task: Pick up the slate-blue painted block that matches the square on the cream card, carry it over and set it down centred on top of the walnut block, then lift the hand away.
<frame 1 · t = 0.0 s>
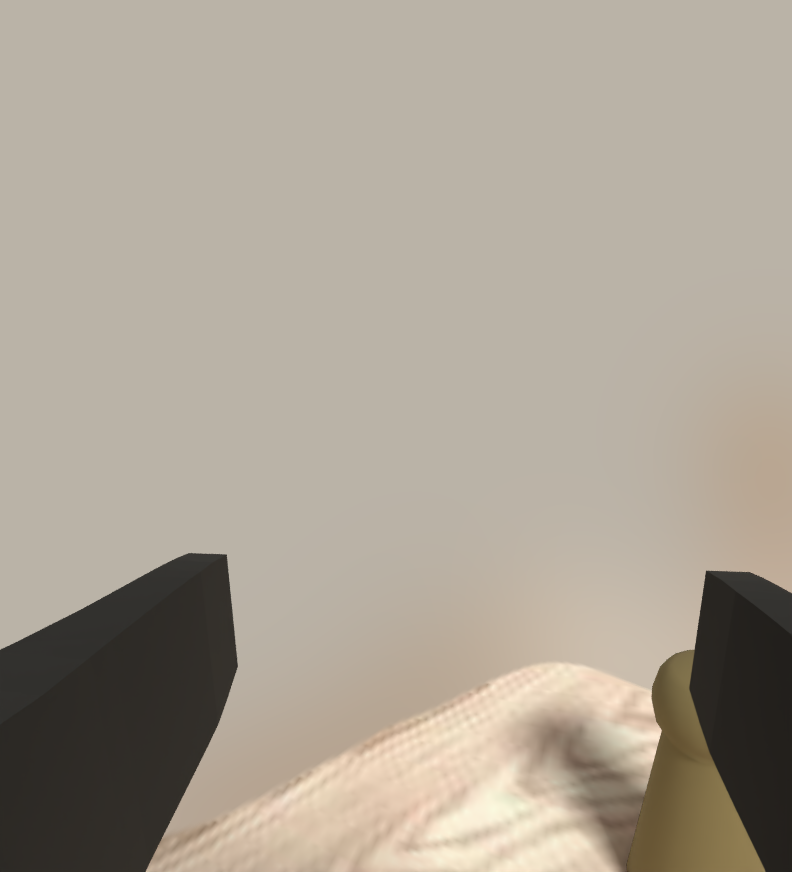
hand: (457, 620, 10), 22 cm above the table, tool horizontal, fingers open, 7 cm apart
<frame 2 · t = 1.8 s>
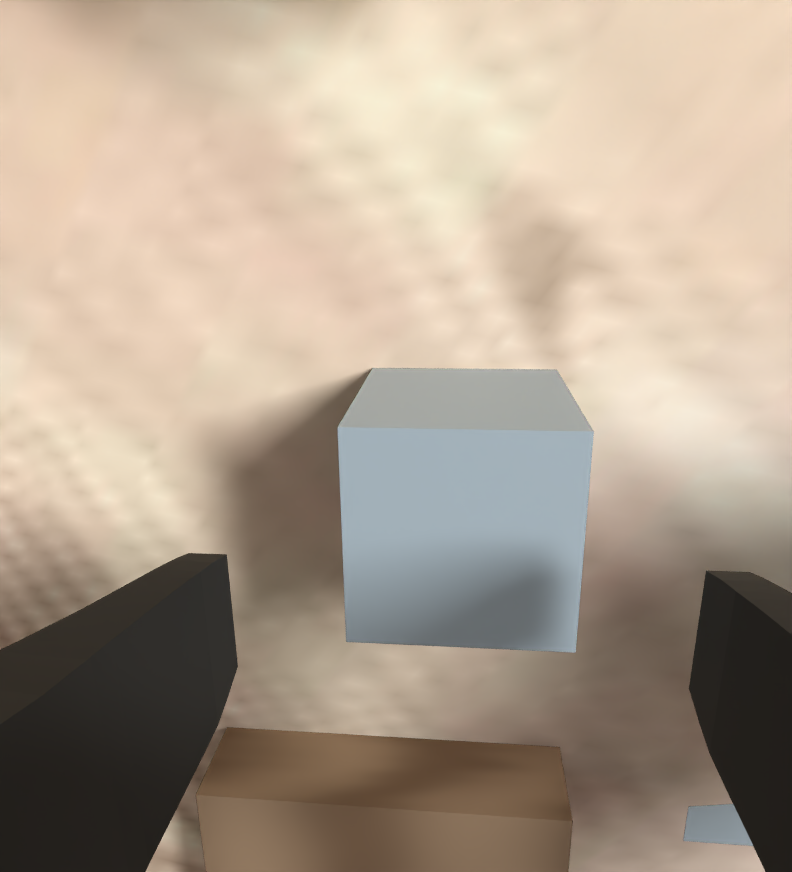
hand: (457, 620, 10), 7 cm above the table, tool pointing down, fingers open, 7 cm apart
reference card: (725, 801, 20), on the table
walnut block: (393, 851, 22), on the table
slate block: (461, 454, 17), on the table
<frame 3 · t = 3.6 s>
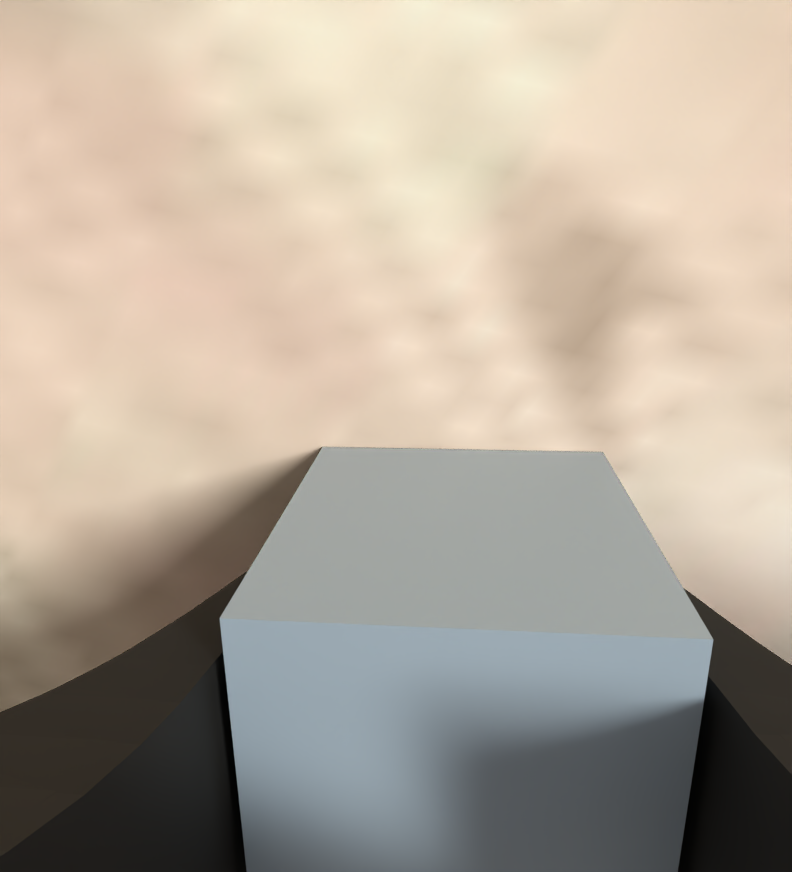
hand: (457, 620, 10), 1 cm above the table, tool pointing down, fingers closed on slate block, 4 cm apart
slate block: (457, 573, 12), on the table, touching gripper
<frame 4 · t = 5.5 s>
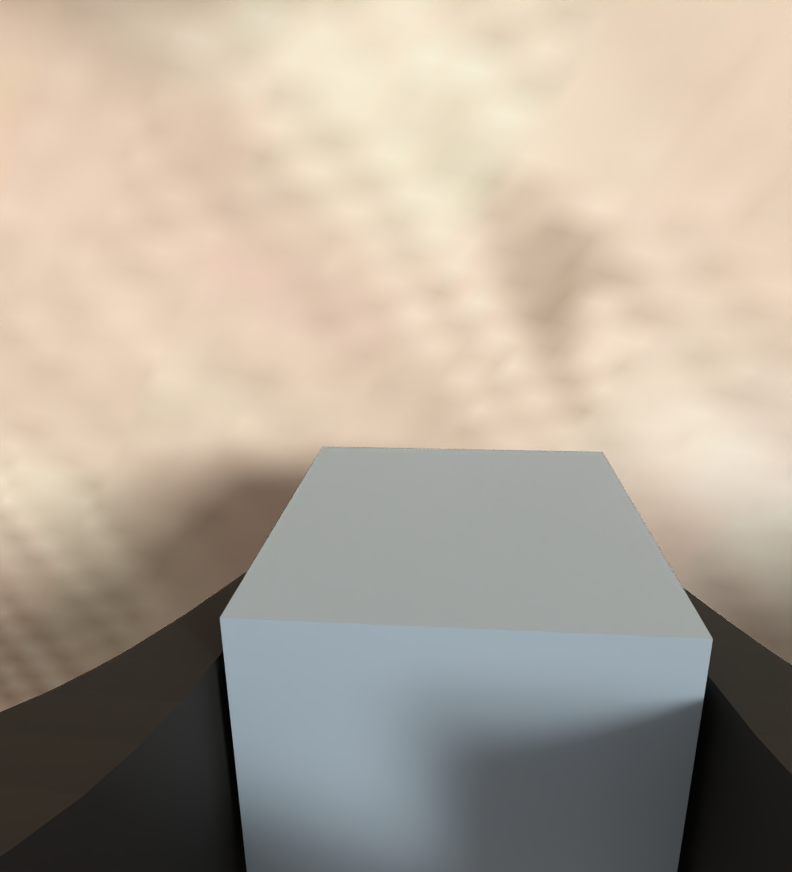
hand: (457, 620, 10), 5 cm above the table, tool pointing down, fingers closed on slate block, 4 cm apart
slate block: (457, 573, 12), point 3 cm above the table, touching gripper
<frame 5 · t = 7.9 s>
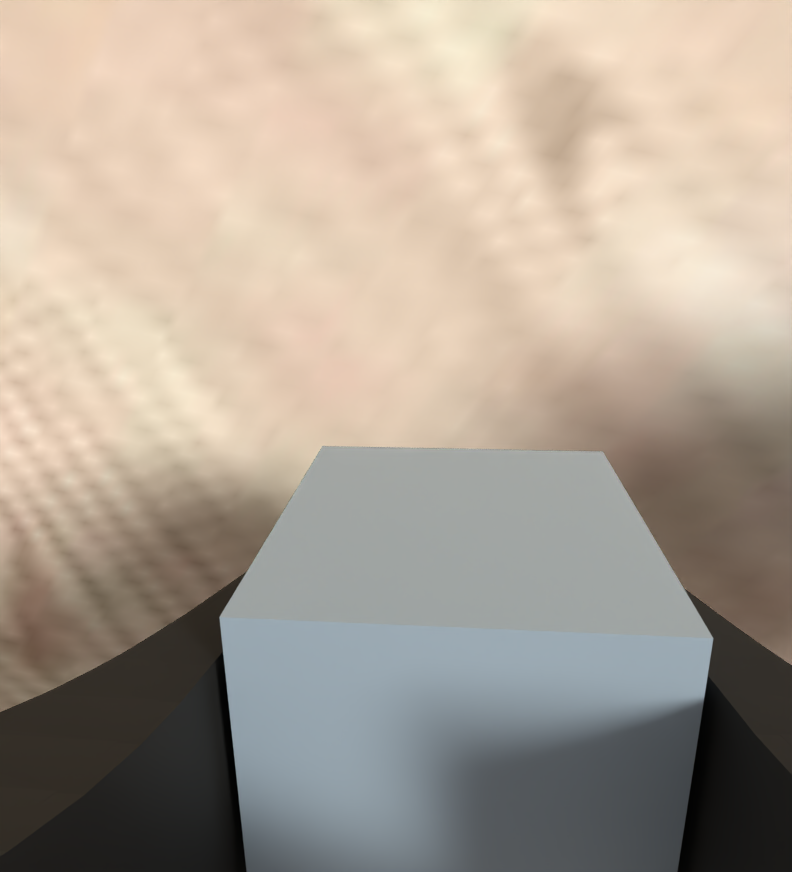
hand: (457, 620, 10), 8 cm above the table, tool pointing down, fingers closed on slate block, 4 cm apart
slate block: (457, 572, 12), point 7 cm above the table, touching gripper
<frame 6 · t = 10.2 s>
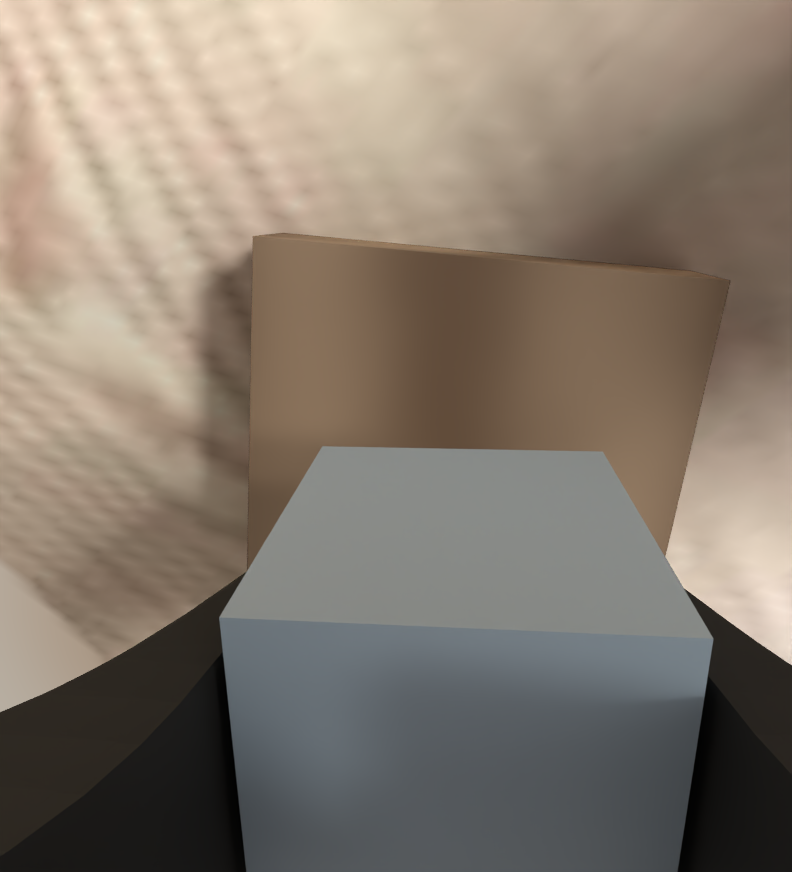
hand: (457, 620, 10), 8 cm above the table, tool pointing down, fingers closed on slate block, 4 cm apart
walnut block: (459, 438, 19), on the table
slate block: (457, 572, 12), point 7 cm above the table, touching gripper
when the fingers open (5 cm above the table, at t = 12.2 s): slate block drops 1 cm, point 2 cm above the table.
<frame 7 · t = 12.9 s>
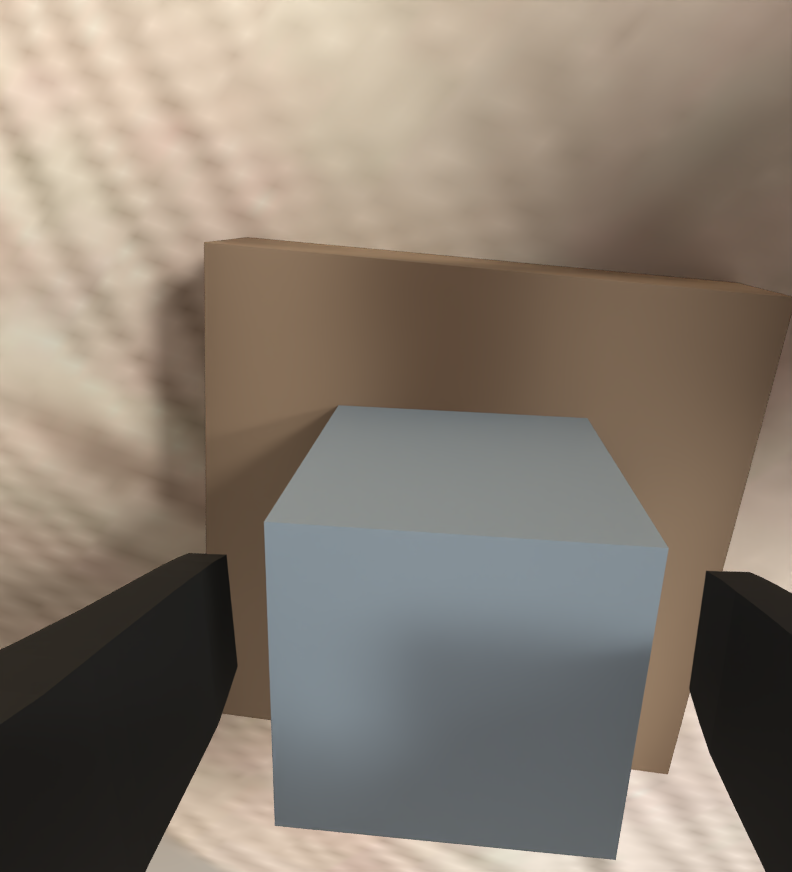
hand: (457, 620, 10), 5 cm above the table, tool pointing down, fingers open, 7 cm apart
walnut block: (459, 477, 16), on the table
slate block: (454, 524, 13), point 2 cm above the table
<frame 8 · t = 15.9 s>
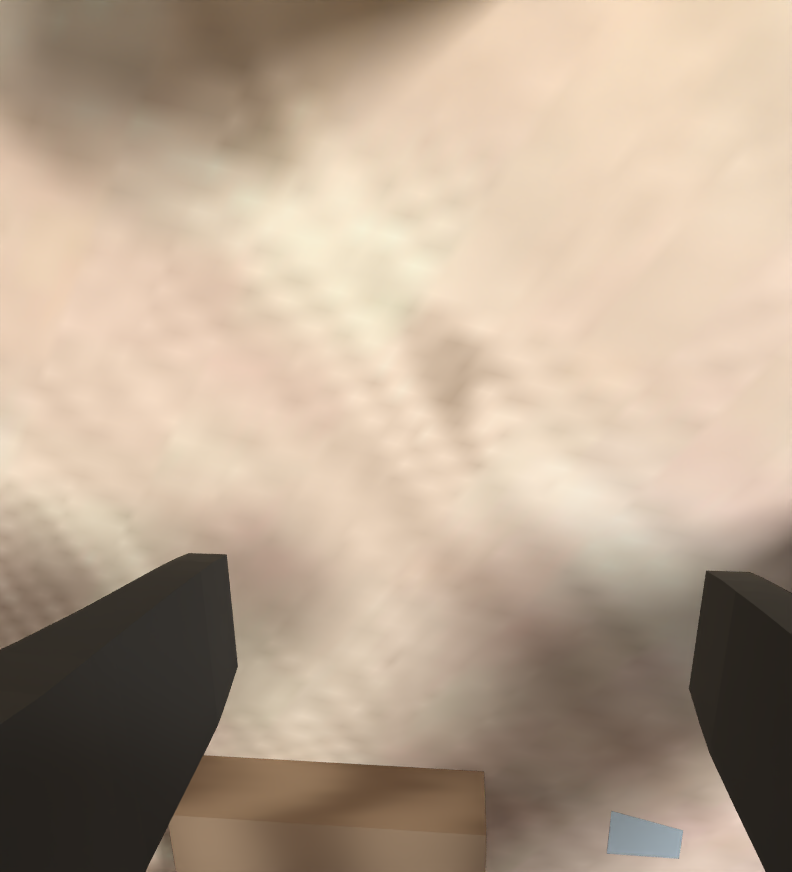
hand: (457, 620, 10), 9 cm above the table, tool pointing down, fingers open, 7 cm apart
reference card: (643, 819, 23), on the table
walnut block: (345, 859, 25), on the table, touching slate block
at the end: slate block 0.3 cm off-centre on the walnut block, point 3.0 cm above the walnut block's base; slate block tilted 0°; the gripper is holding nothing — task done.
